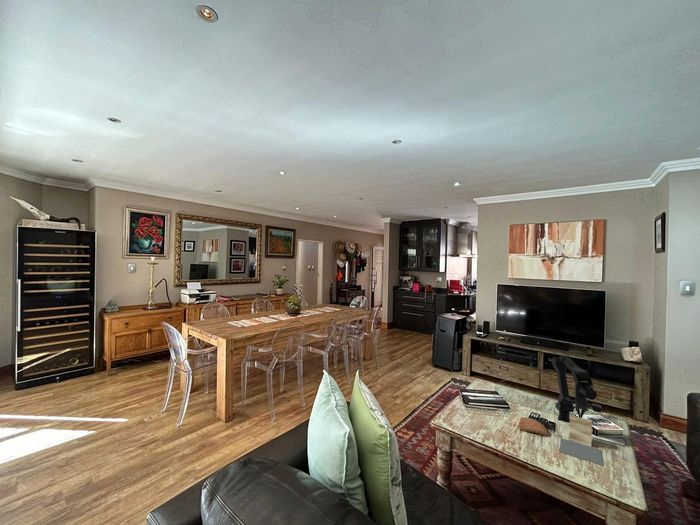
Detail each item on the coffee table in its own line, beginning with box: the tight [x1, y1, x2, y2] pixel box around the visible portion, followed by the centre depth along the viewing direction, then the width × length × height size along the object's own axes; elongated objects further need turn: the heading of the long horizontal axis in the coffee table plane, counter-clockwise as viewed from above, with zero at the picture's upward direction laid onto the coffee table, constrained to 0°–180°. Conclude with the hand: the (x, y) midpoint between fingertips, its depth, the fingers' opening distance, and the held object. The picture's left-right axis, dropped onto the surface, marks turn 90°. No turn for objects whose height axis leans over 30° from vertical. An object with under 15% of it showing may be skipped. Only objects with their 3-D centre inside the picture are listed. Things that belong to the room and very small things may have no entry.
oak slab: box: [568, 414, 593, 447], centre depth 174 cm, size 4×10×13 cm, turn 54°
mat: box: [559, 437, 604, 466], centre depth 165 cm, size 16×18×1 cm
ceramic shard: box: [518, 417, 549, 437], centre depth 188 cm, size 15×6×15 cm
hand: (580, 418), depth 181 cm, fingers closed
